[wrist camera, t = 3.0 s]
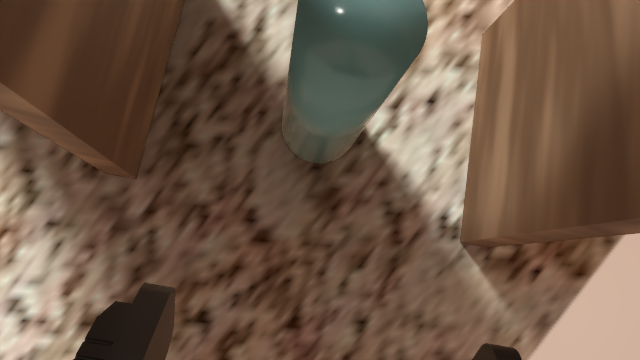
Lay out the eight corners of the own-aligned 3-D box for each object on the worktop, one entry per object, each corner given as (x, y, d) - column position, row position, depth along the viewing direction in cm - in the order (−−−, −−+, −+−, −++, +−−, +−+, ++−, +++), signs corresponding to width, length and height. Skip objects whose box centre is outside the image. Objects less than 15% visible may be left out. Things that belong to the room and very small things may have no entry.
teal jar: (274, 155, 30) (285, 62, 17) (289, 84, 31) (310, -56, 18) (349, 170, 31) (418, 92, 17) (361, 100, 32) (435, -26, 18)
